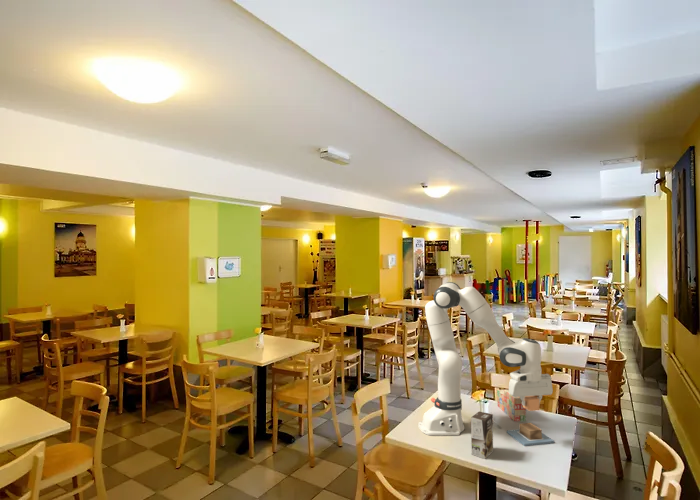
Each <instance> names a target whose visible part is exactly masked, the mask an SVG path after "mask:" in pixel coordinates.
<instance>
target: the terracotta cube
mask: <svg viewBox="0 0 700 500" xmlns="http://www.w3.org/2000/svg"><path fill="white" fill-rule="evenodd" d="M524 400H525V401H526V402H527V406H523V407H524V408H525V409H526V410H527V411H529V412H534V411H540V405H539V399H538V398H537V396H525V398H524Z"/></svg>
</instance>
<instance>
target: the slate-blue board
mask: <svg viewBox="0 0 700 500" xmlns="http://www.w3.org/2000/svg"><path fill="white" fill-rule="evenodd" d="M506 433H507V434H508V435H509V436H510V437H512V438H513V439H515V440H516V441H517V442H518V443H519V444H522V446H524V447H529V446H538V445H539V446H540V445H549V444H555V440H554V439H552V438H550V437H549V436H548V435H546V434H545V433H543V432H542V439H534V440H530V439H528V438H527V437H525V436H524V435H523V434H521V433H520V429H517V428H516V429H510V430H509V429H508V430H506Z"/></svg>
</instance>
